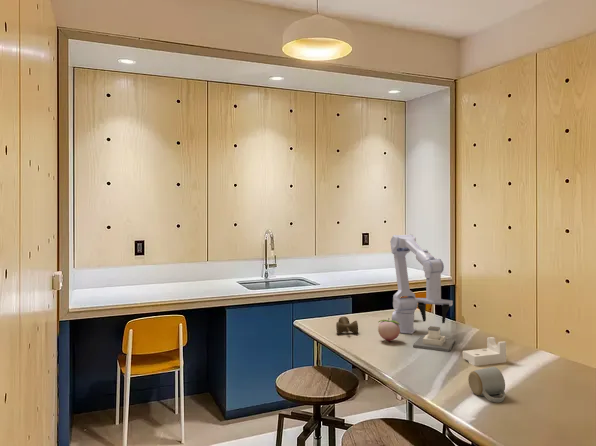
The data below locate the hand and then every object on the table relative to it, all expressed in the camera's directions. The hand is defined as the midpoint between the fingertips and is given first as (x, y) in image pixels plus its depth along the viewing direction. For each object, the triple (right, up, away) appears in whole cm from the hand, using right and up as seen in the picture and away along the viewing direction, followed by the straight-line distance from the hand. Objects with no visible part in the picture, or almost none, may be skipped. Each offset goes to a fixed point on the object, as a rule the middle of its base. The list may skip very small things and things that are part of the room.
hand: (433, 321), depth 189 cm
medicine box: (-2, -9, +42) cm, 43 cm away
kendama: (-33, -10, +24) cm, 42 cm away
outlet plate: (0, -9, 0) cm, 9 cm away
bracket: (+12, -10, -21) cm, 26 cm away
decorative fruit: (-17, -10, +6) cm, 21 cm away
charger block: (0, -8, 0) cm, 8 cm away
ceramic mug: (+1, -11, -52) cm, 53 cm away
